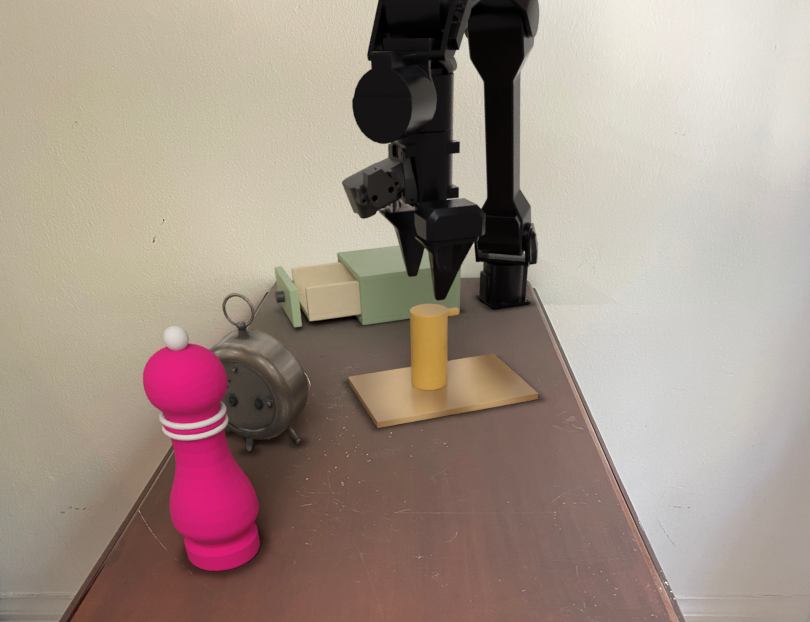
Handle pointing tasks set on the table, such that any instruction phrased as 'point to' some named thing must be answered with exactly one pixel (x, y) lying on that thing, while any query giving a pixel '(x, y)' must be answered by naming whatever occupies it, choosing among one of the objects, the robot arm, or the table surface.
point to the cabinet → (393, 284)
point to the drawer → (318, 292)
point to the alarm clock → (260, 382)
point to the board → (440, 391)
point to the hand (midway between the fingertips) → (425, 287)
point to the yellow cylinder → (429, 345)
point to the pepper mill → (202, 455)
